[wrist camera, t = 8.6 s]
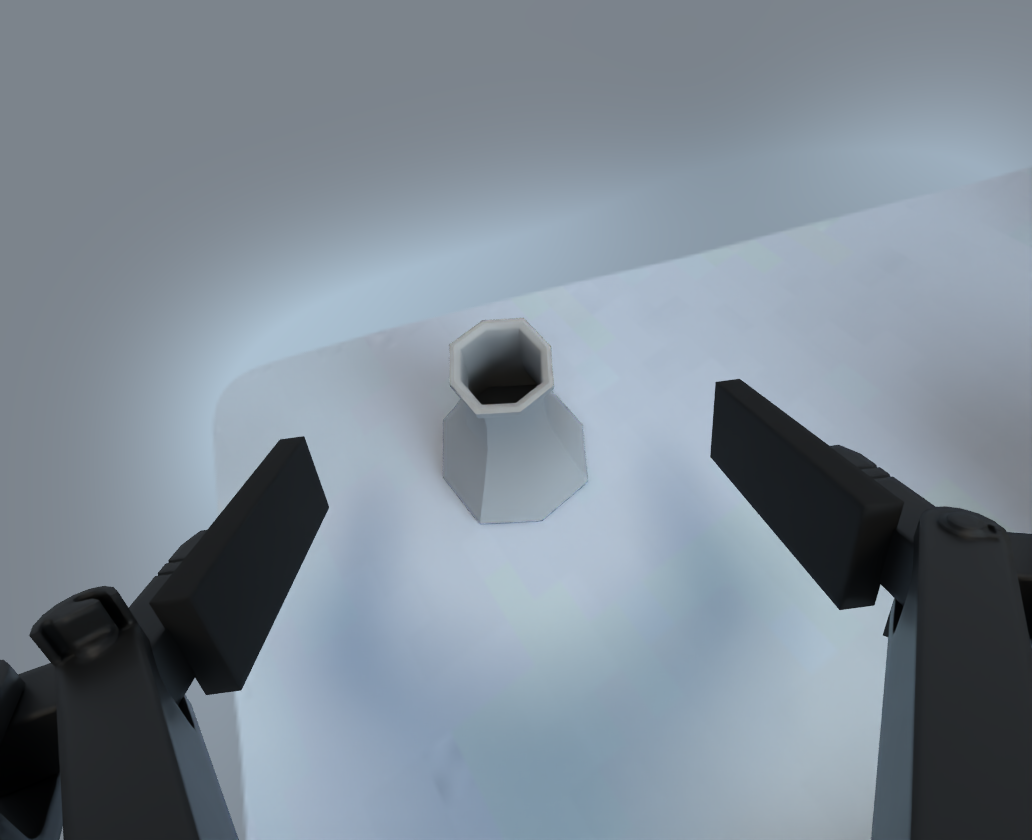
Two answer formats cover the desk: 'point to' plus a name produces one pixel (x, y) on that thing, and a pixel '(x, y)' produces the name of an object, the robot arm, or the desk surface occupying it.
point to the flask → (509, 426)
